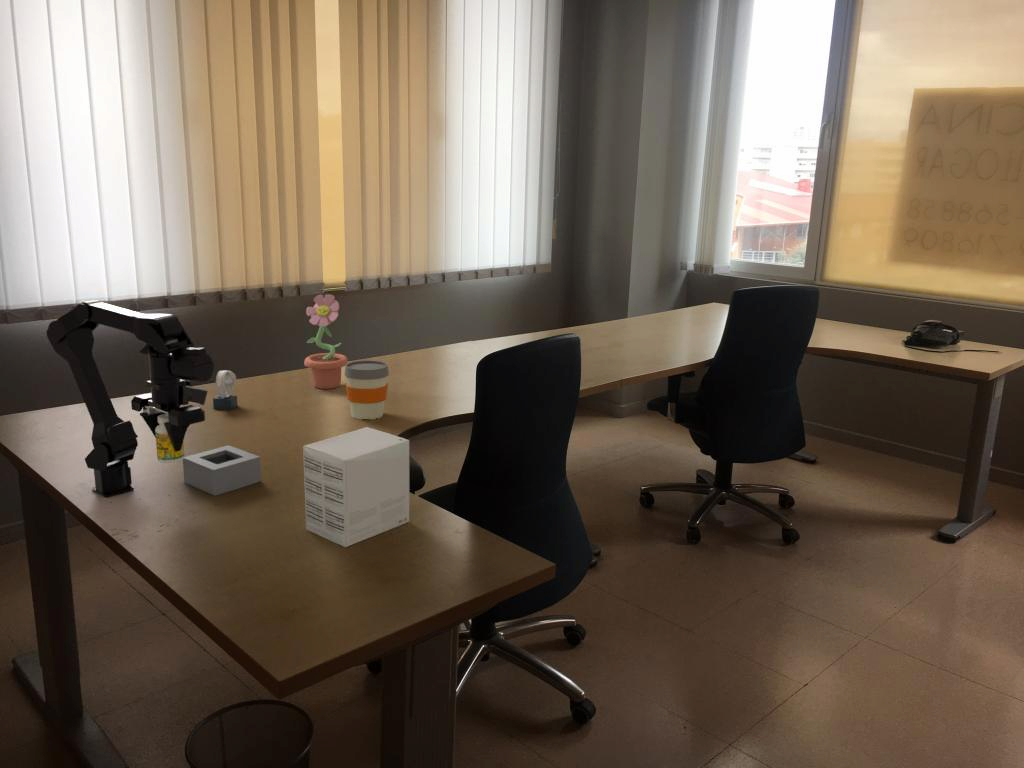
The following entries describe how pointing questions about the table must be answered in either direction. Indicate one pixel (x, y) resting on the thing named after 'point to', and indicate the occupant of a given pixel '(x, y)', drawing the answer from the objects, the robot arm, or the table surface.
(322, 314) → the decorative flower
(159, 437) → the supplement bottle
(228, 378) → the white bust figurine
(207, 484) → the drop box
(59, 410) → the table surface
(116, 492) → the robot arm
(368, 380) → the reusable coffee cup
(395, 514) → the supplement box
